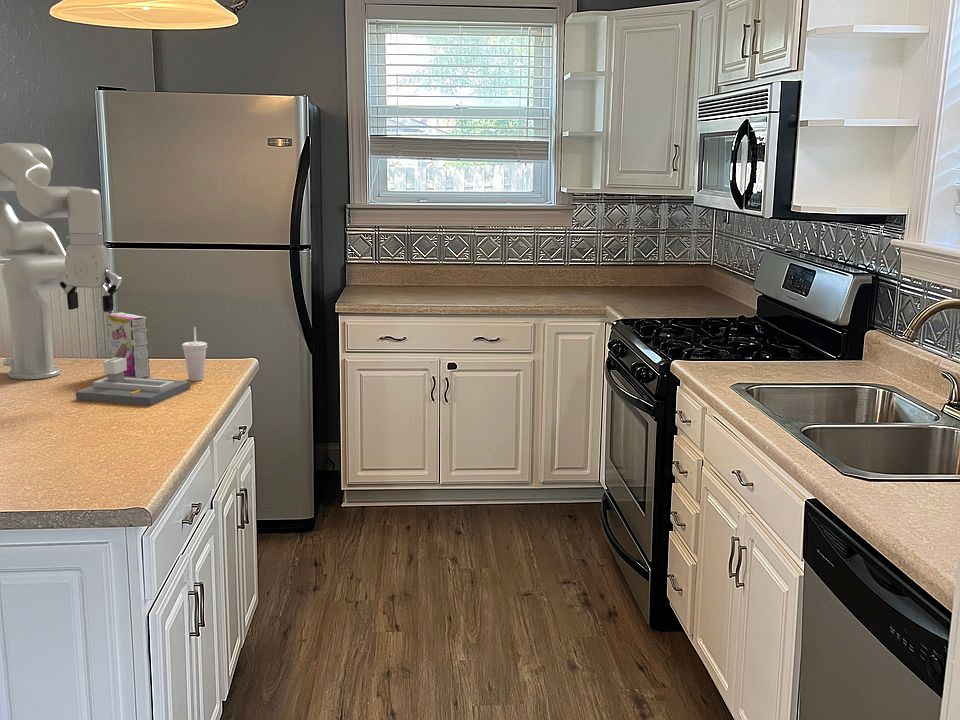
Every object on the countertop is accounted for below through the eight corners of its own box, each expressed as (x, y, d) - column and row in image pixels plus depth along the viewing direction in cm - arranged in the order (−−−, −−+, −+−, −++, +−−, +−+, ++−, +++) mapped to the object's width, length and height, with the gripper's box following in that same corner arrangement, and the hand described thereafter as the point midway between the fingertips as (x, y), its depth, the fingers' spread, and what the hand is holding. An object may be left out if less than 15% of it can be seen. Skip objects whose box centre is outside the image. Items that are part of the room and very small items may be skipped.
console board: (76, 399, 230) (75, 387, 229) (120, 383, 247) (119, 371, 247) (150, 406, 226) (150, 392, 225) (190, 389, 243) (189, 376, 242)
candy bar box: (109, 374, 258) (105, 314, 254) (125, 371, 262) (122, 311, 258) (134, 380, 251) (130, 318, 248) (150, 377, 255) (147, 316, 252)
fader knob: (104, 385, 235) (103, 360, 234) (116, 380, 240) (115, 356, 238) (115, 386, 234) (114, 361, 233) (127, 381, 239) (126, 357, 238)
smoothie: (212, 377, 256) (210, 325, 253) (203, 382, 250) (201, 330, 247) (189, 376, 257) (186, 325, 254) (179, 381, 250) (177, 329, 248)
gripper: (45, 239, 230) (50, 310, 234) (109, 243, 226) (113, 314, 230) (65, 237, 237) (69, 305, 241) (127, 240, 233) (131, 309, 237)
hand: (90, 310), depth 235 cm, fingers open, 9 cm apart
